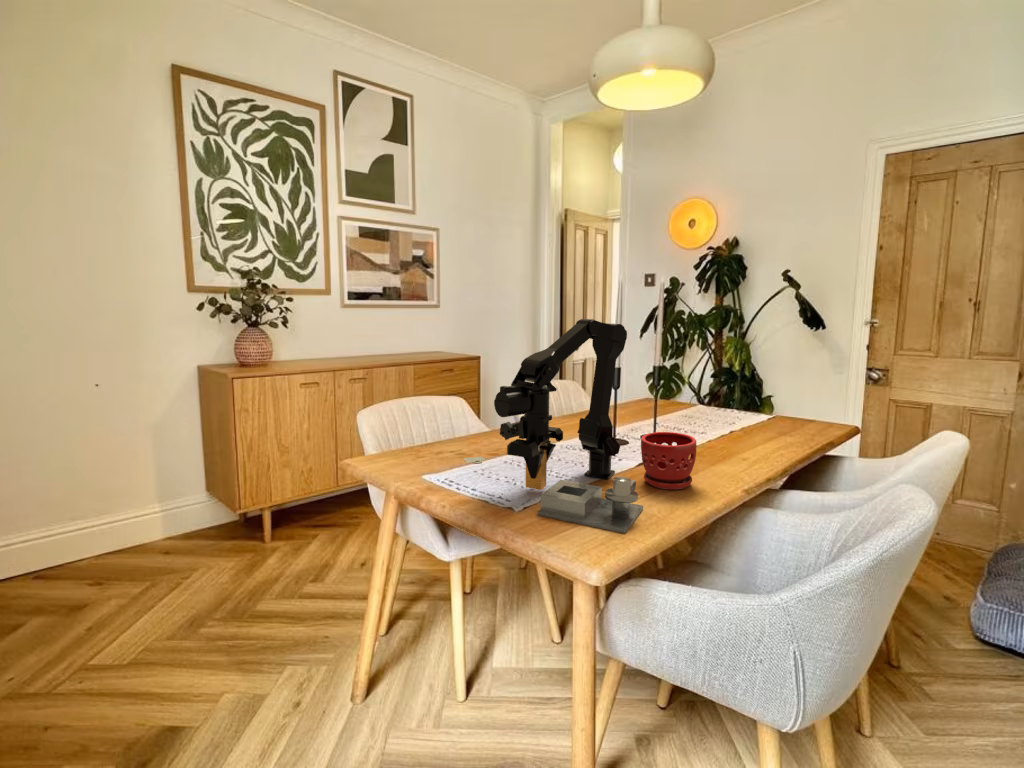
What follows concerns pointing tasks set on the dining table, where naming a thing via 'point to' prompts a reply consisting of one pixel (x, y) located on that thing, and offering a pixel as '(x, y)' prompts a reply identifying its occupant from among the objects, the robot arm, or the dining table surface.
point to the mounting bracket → (474, 460)
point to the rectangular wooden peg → (538, 474)
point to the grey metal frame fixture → (593, 504)
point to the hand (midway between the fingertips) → (536, 476)
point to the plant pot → (668, 459)
